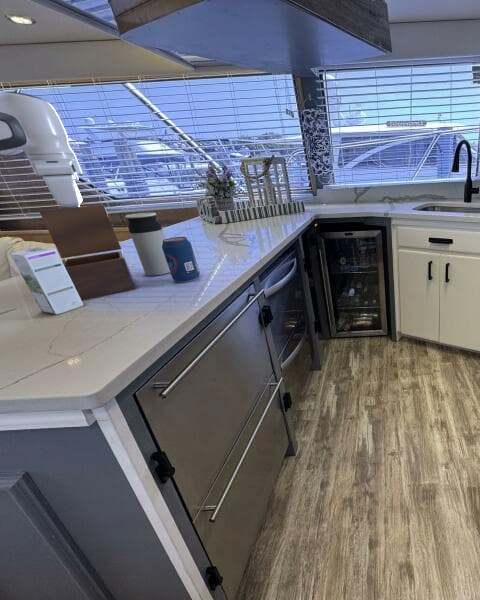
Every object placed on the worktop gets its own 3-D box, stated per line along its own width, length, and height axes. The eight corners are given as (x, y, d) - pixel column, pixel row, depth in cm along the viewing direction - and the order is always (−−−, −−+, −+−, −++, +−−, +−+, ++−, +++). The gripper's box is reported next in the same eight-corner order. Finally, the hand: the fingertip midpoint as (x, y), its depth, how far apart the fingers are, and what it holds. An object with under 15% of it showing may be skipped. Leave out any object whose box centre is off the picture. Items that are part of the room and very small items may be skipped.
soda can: (169, 281, 93) (154, 240, 89) (193, 274, 99) (181, 235, 94) (181, 284, 90) (167, 242, 85) (205, 277, 95) (193, 237, 90)
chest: (135, 288, 88) (123, 258, 85) (73, 302, 81) (57, 268, 77) (133, 279, 96) (122, 250, 93) (76, 290, 89) (62, 259, 86)
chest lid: (104, 204, 88) (104, 204, 88) (38, 210, 80) (39, 210, 81) (121, 249, 93) (121, 248, 93) (61, 258, 85) (61, 257, 86)
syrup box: (85, 305, 79) (57, 247, 73) (55, 315, 74) (22, 254, 68) (70, 303, 80) (42, 246, 75) (40, 313, 75) (7, 252, 70)
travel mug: (181, 270, 103) (162, 212, 96) (154, 277, 97) (132, 217, 90) (167, 267, 107) (148, 212, 100) (140, 274, 100) (118, 216, 93)
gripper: (44, 168, 88) (67, 219, 93) (33, 167, 74) (61, 227, 79) (75, 167, 92) (96, 216, 97) (70, 166, 77) (94, 224, 83)
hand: (80, 221), depth 88 cm, fingers closed
